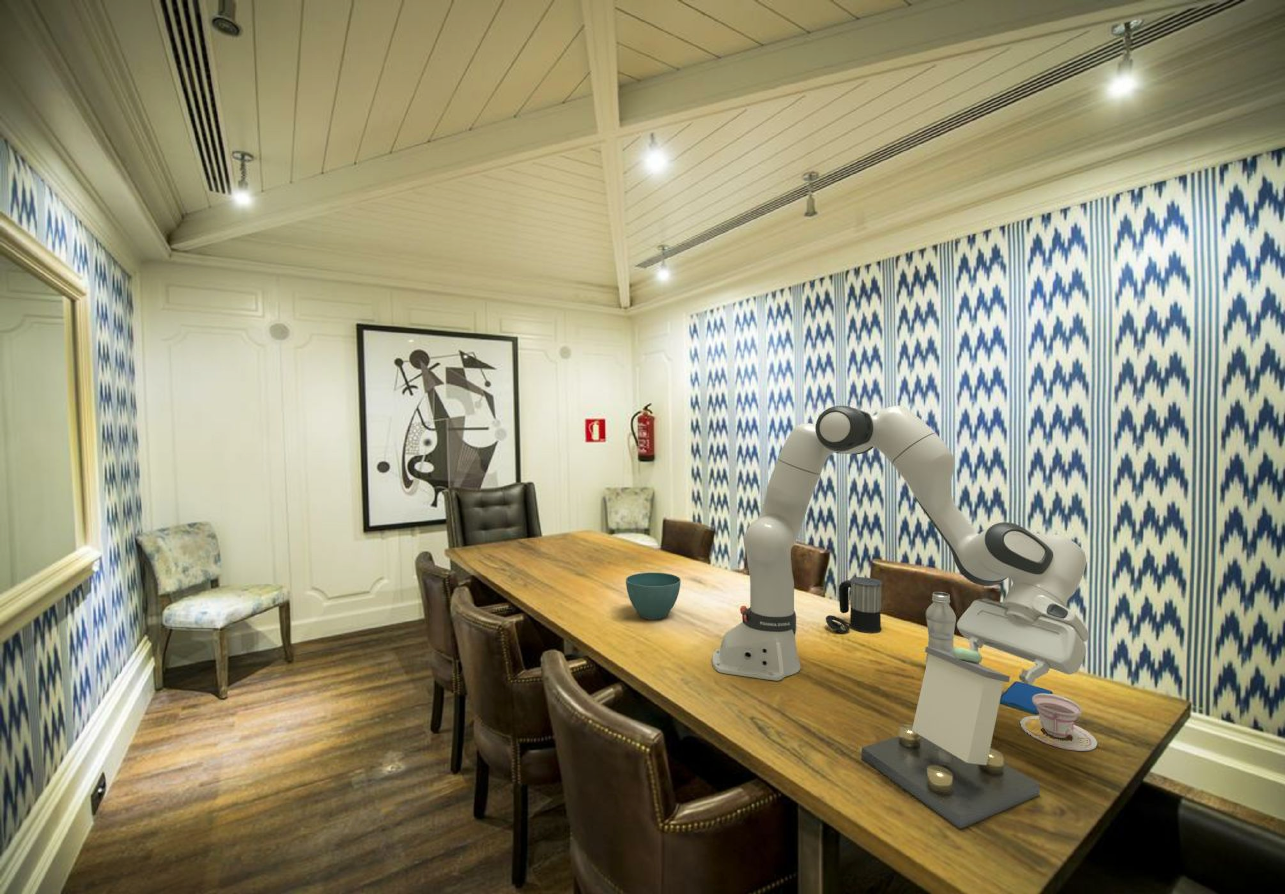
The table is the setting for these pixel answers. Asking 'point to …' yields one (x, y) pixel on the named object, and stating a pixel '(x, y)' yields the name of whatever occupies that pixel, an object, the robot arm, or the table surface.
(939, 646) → the plastic bottle
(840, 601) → the milk frother
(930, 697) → the instrument head
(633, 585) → the plant pot
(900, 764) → the base
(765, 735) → the table surface
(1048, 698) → the teacup
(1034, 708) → the smartphone
